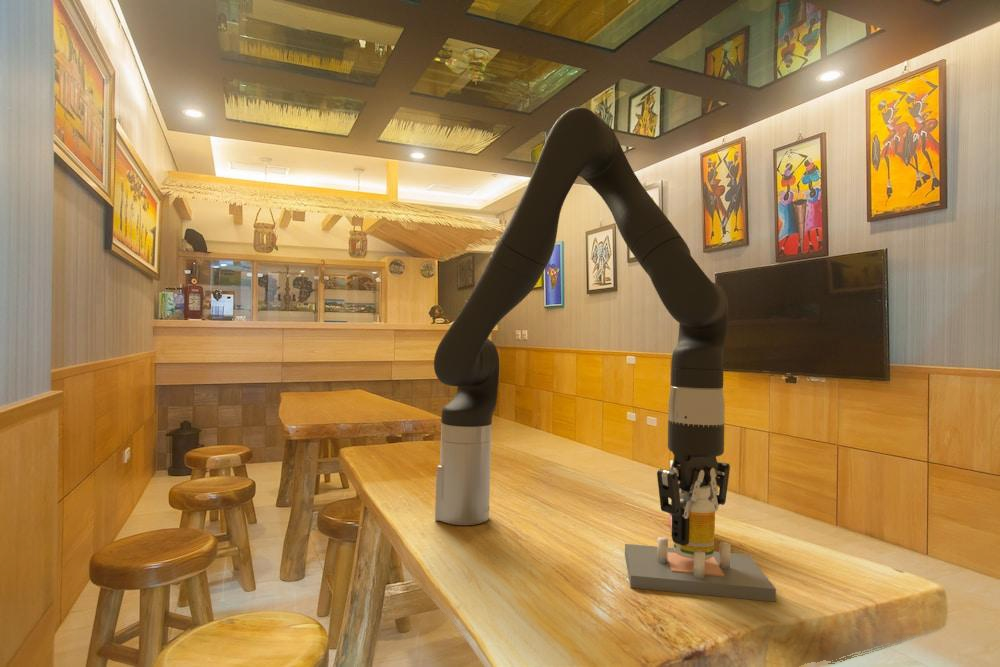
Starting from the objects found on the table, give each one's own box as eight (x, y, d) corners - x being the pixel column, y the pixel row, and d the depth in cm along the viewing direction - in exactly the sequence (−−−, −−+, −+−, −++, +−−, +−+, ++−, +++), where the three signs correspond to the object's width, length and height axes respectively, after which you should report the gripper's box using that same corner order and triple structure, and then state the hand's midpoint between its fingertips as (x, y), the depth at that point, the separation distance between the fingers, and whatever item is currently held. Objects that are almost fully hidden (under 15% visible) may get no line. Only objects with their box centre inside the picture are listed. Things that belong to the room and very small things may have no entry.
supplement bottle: (665, 548, 79) (667, 481, 79) (696, 545, 80) (697, 479, 81) (690, 562, 74) (692, 490, 74) (722, 558, 75) (723, 488, 76)
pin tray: (630, 587, 73) (631, 551, 73) (624, 554, 84) (625, 522, 85) (775, 601, 70) (776, 563, 70) (748, 565, 82) (749, 532, 82)
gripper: (687, 425, 70) (685, 558, 70) (748, 419, 79) (746, 538, 78) (641, 418, 76) (638, 541, 76) (702, 413, 85) (700, 524, 84)
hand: (693, 539), depth 77 cm, fingers closed on supplement bottle, 5 cm apart
